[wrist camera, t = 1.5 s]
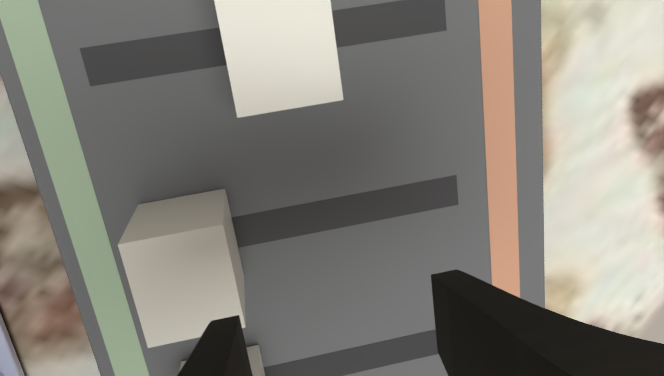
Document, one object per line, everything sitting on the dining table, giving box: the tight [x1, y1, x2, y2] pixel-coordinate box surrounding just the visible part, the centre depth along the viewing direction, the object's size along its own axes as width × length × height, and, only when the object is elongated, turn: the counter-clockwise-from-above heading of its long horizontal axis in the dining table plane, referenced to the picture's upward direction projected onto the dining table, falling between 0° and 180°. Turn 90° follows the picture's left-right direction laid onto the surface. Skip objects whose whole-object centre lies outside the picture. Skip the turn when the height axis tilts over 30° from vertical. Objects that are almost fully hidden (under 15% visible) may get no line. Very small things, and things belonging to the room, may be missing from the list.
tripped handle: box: [214, 0, 343, 118], centre depth 16 cm, size 3×4×4 cm
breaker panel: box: [0, 0, 545, 376], centre depth 21 cm, size 18×20×2 cm
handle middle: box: [118, 189, 246, 348], centre depth 18 cm, size 3×4×4 cm
